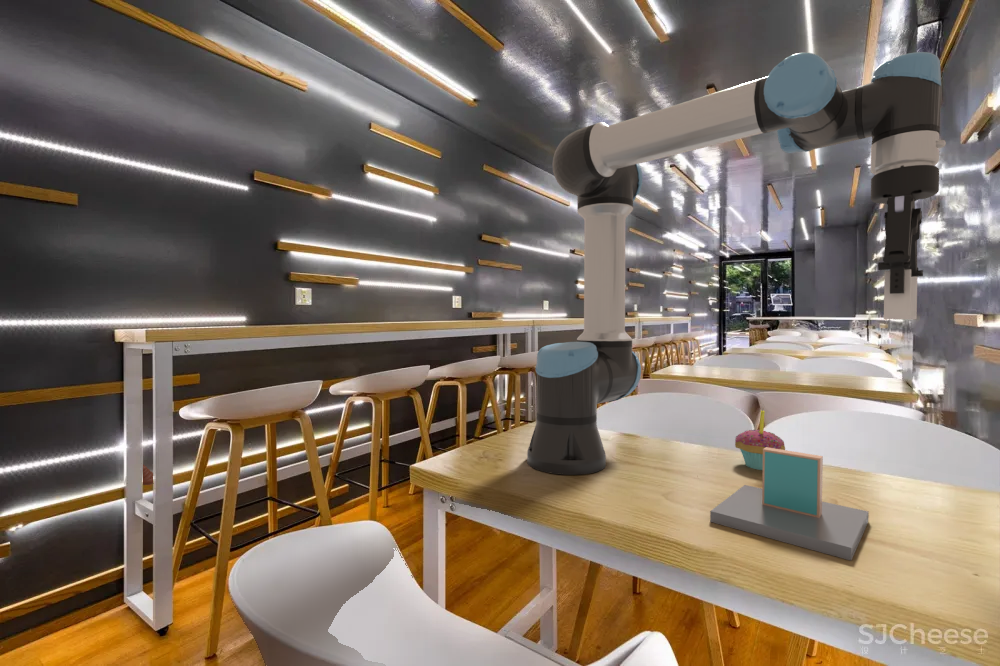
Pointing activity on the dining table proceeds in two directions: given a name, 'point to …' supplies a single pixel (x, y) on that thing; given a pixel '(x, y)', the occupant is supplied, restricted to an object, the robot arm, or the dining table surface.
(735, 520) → the board
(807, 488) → the tile
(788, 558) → the dining table surface
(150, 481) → the poop emoji
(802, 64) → the robot arm
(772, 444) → the cupcake
